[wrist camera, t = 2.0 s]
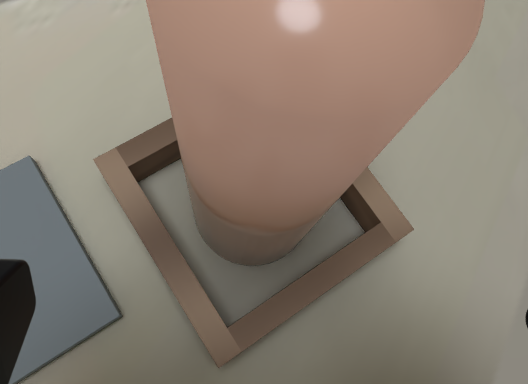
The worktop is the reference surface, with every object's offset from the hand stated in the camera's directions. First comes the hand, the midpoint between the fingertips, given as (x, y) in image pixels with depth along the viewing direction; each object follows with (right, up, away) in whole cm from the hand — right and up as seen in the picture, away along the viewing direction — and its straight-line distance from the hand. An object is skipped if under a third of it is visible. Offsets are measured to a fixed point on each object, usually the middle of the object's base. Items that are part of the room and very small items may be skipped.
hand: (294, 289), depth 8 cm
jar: (-1, +1, +12) cm, 12 cm away
